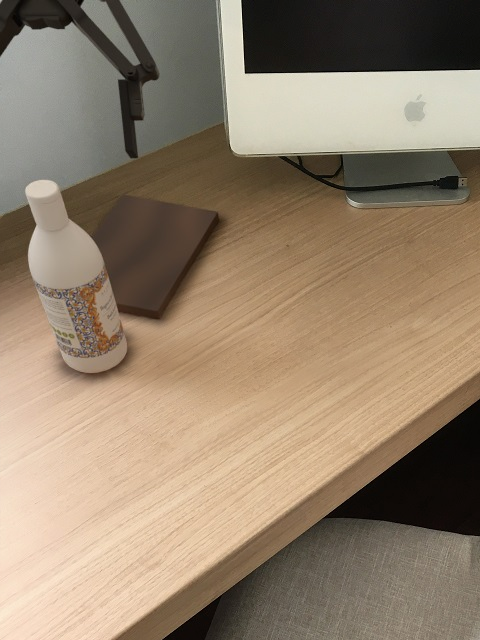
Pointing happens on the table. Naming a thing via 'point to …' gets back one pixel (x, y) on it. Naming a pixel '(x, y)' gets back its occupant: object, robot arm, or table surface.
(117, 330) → the bath foam
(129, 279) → the walnut board
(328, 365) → the table surface
